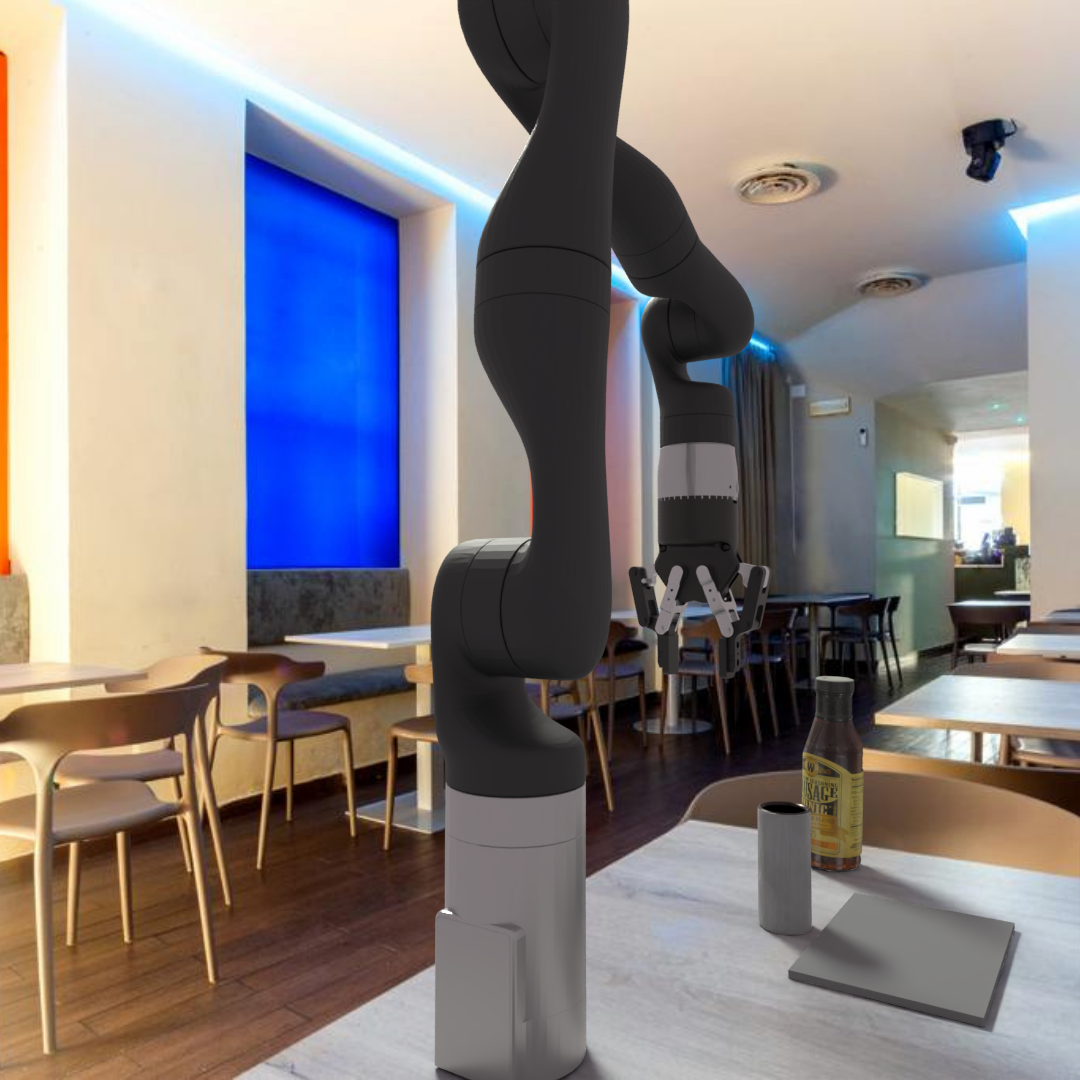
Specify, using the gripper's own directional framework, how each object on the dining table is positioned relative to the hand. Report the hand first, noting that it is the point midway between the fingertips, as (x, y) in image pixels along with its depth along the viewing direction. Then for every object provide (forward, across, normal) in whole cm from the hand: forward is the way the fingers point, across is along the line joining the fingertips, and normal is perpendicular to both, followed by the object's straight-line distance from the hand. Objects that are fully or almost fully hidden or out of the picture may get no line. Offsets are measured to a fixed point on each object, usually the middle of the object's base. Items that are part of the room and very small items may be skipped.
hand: (698, 674), depth 84 cm
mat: (+21, +18, 0) cm, 28 cm away
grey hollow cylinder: (+22, +8, 0) cm, 23 cm away
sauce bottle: (+22, +7, +19) cm, 30 cm away
